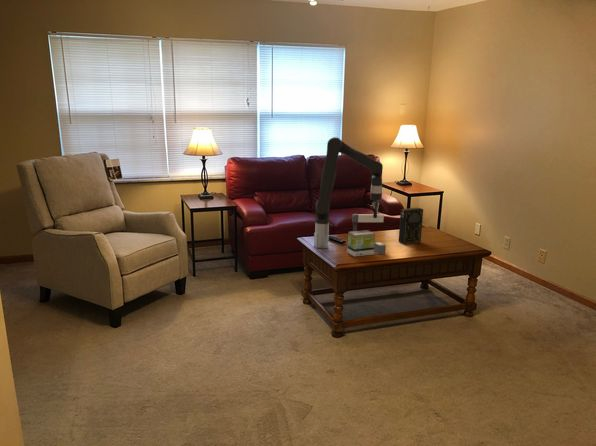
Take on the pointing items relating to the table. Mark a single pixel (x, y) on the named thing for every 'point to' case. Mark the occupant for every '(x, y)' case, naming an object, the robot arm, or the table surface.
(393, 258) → the table surface
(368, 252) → the tea box
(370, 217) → the bar
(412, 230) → the dark grey tall block
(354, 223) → the arm post
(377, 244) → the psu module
